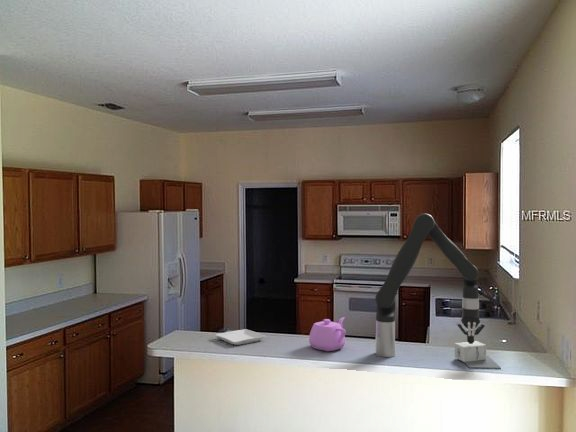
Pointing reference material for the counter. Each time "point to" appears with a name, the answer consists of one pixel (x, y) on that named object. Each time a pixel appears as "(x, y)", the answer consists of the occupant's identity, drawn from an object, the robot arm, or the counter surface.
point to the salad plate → (240, 336)
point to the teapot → (327, 335)
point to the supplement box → (470, 351)
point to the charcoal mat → (483, 364)
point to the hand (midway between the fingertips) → (470, 343)
